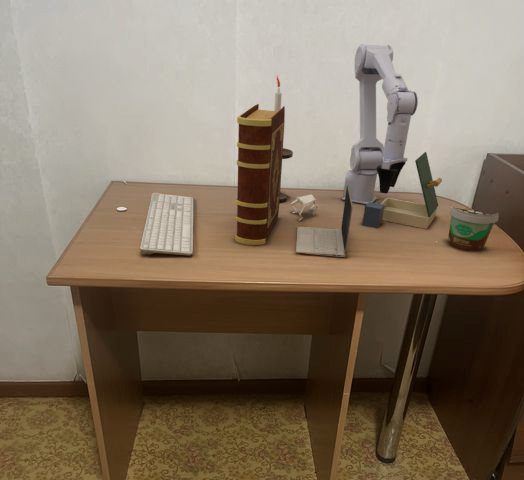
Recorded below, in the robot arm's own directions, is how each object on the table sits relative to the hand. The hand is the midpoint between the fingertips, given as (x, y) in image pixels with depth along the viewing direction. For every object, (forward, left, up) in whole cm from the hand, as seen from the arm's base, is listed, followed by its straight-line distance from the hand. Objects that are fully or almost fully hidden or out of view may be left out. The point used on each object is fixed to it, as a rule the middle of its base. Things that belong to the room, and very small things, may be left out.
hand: (387, 189), depth 150 cm
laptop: (-9, -29, -9) cm, 31 cm away
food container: (+25, -11, -9) cm, 29 cm away
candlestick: (-36, -2, -9) cm, 37 cm away
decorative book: (-27, -30, -9) cm, 41 cm away
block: (-1, -7, -9) cm, 11 cm away
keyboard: (-49, -39, -9) cm, 63 cm away
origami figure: (-21, -12, -9) cm, 25 cm away
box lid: (+10, +4, +2) cm, 11 cm away
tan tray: (+6, +4, -9) cm, 11 cm away
